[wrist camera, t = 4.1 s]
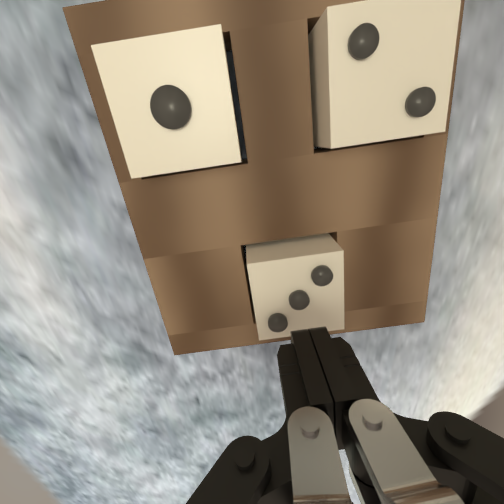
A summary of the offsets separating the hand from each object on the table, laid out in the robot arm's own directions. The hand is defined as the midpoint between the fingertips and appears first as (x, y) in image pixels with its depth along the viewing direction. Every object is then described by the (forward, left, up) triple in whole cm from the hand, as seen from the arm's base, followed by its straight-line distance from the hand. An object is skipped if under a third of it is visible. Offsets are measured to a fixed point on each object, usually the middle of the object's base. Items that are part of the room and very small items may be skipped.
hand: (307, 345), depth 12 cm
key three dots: (0, 0, -7) cm, 7 cm away
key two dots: (-5, -10, -7) cm, 13 cm away
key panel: (0, -5, -9) cm, 10 cm away
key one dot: (+4, -10, -7) cm, 13 cm away
